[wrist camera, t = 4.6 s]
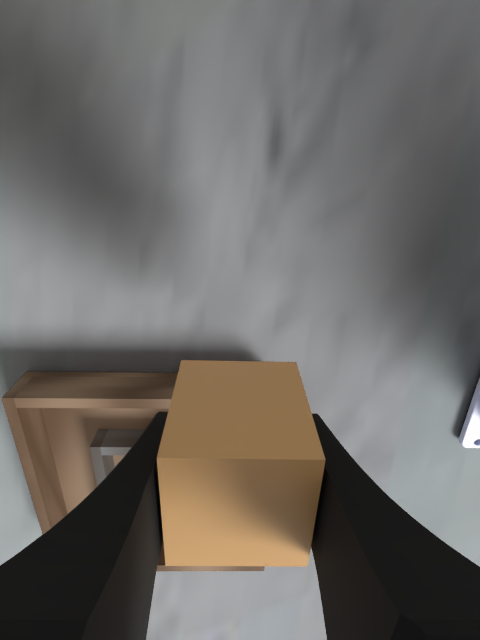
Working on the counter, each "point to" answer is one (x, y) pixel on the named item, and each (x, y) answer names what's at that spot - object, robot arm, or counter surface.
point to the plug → (239, 466)
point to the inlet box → (83, 435)
